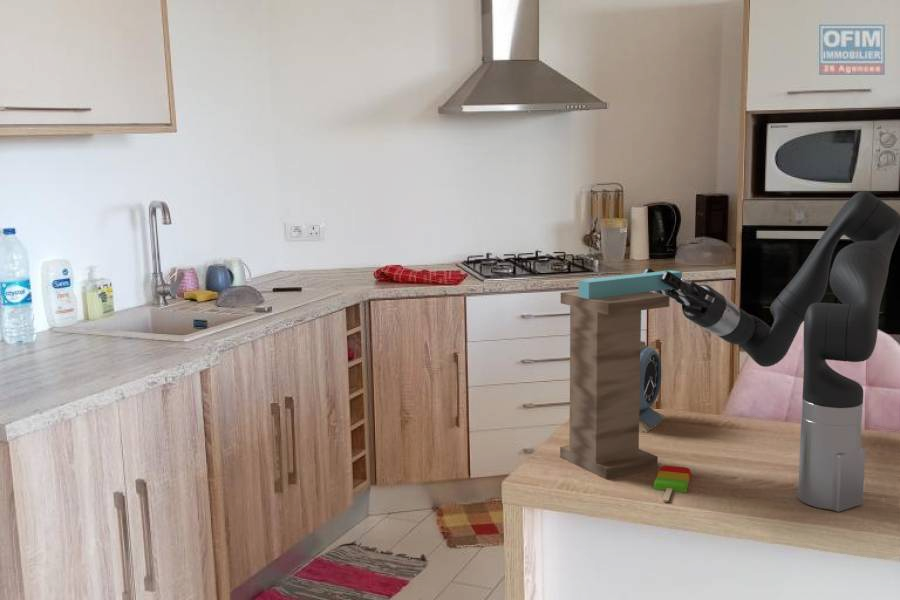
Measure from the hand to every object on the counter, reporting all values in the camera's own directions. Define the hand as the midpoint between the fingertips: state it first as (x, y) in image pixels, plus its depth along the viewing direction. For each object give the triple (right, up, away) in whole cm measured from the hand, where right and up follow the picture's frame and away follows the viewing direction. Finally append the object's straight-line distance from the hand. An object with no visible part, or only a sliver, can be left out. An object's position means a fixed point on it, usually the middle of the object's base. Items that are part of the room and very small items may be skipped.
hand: (655, 274), depth 175 cm
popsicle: (0, -38, -12) cm, 40 cm away
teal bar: (-5, -3, -2) cm, 6 cm away
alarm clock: (+1, -31, +26) cm, 40 cm away
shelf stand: (-8, -35, +1) cm, 36 cm away
